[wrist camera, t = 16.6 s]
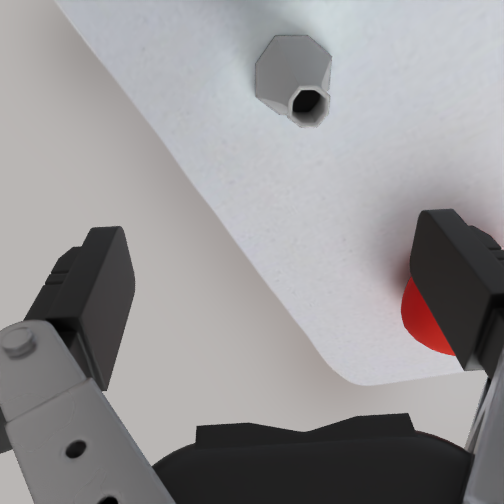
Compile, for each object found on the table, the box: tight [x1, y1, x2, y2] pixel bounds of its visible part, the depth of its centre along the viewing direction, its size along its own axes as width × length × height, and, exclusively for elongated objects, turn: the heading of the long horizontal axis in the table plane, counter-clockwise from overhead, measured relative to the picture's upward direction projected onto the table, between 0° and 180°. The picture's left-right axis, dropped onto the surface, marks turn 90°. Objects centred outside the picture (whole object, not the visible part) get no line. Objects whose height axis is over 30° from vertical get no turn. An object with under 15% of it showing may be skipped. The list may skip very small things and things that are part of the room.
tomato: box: [401, 276, 455, 356], centre depth 50 cm, size 14×13×10 cm
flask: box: [255, 35, 332, 128], centre depth 36 cm, size 7×7×10 cm
